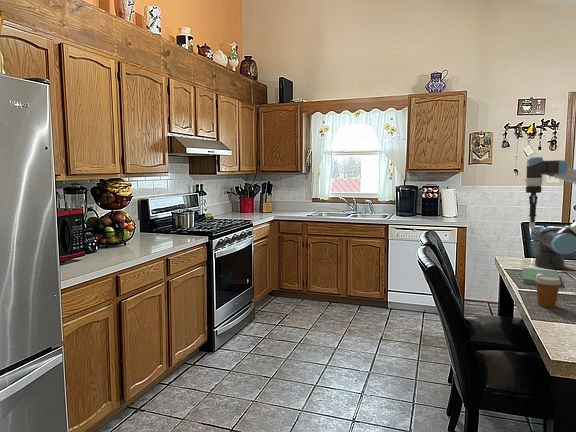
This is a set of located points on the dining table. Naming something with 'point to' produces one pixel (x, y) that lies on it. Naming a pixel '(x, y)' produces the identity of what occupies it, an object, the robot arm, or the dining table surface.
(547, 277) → the disposable coffee cup
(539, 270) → the putting mat
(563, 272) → the dining table surface
